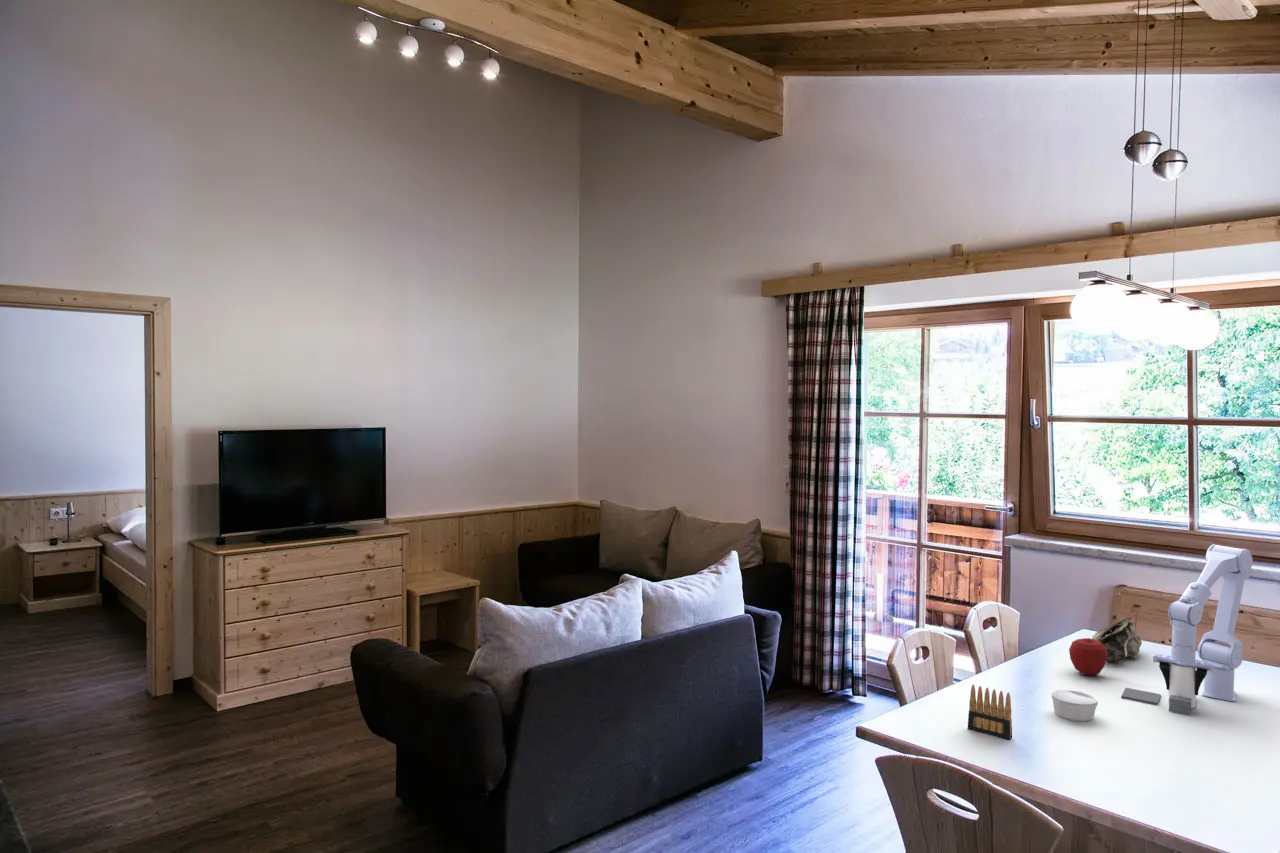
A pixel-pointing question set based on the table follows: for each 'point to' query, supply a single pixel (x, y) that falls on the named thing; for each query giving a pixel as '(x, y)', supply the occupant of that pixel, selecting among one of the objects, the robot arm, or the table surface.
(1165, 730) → the table surface
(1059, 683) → the table surface
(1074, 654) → the apple
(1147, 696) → the mat
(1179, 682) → the can
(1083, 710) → the ramekin
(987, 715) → the ammunition clip
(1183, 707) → the block
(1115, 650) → the hollow geode rock
